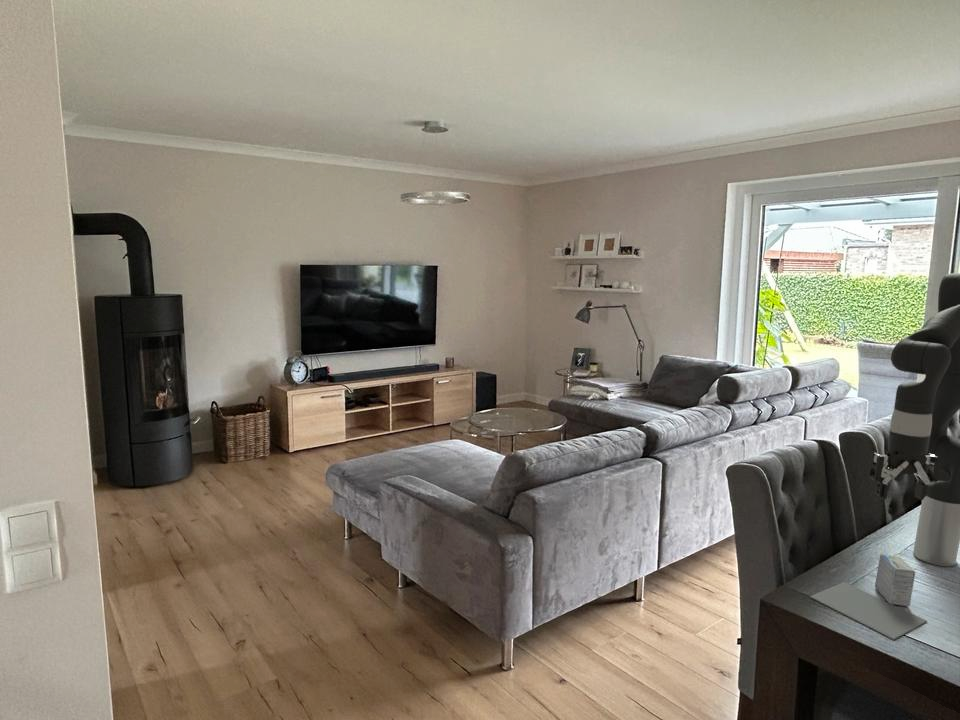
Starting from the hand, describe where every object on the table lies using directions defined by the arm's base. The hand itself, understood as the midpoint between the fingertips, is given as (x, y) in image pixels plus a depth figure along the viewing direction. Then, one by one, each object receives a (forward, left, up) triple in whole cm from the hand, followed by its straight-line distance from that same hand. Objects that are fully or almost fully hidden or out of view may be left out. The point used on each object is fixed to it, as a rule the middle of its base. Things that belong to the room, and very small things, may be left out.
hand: (900, 498), depth 142 cm
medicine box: (0, +2, -24) cm, 24 cm away
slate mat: (+10, +2, -24) cm, 26 cm away
